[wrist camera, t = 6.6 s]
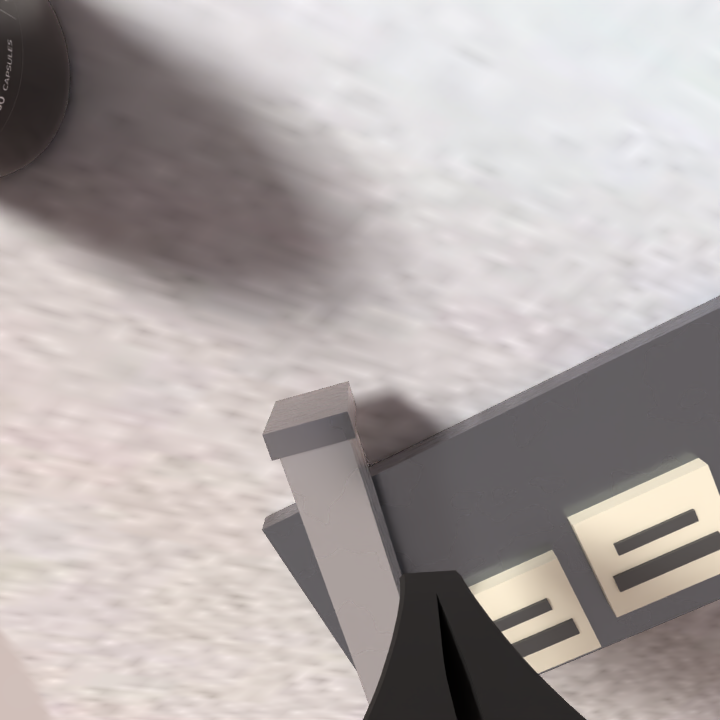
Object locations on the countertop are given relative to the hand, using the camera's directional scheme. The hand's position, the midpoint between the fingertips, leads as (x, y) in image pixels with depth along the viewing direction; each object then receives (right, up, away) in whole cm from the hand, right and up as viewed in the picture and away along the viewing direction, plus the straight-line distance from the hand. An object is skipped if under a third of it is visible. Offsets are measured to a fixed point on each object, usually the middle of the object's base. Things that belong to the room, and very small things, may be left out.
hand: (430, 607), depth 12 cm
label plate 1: (+4, -4, +9) cm, 11 cm away
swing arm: (-1, -1, +6) cm, 6 cm away
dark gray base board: (+5, -1, +8) cm, 9 cm away
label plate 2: (+9, 0, +8) cm, 12 cm away
